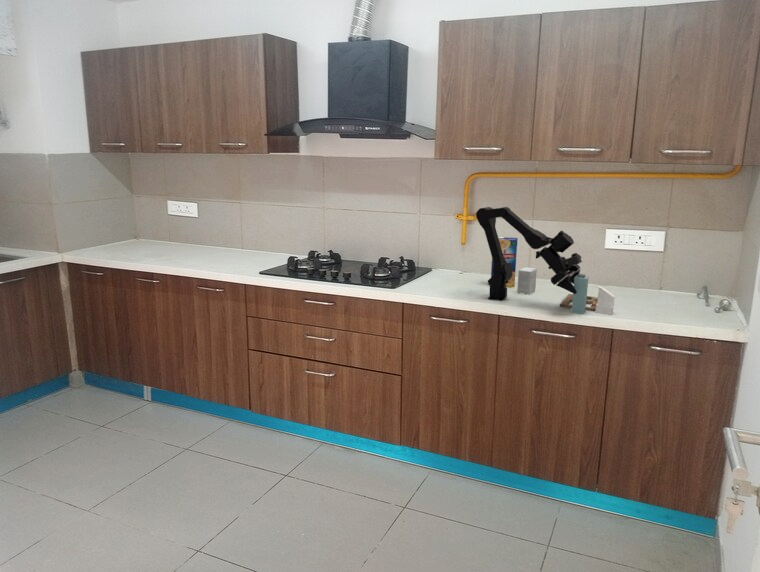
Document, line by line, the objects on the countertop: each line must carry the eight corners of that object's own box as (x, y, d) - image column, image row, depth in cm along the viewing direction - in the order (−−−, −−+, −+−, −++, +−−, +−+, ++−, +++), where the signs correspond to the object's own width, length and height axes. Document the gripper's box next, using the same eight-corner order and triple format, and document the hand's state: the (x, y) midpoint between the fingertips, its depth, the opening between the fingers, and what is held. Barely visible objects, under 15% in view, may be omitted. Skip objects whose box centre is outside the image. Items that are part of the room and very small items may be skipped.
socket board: (559, 307, 232) (559, 302, 232) (568, 296, 249) (568, 292, 248) (596, 311, 226) (596, 307, 226) (602, 300, 242) (603, 296, 242)
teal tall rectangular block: (571, 312, 224) (574, 275, 221) (573, 310, 228) (576, 272, 225) (583, 314, 222) (586, 276, 219) (585, 311, 226) (588, 274, 223)
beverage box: (491, 282, 273) (493, 236, 268) (514, 284, 271) (517, 237, 266) (490, 286, 267) (492, 239, 262) (514, 287, 264) (517, 240, 259)
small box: (523, 289, 261) (524, 266, 258) (535, 291, 258) (537, 268, 255) (516, 293, 254) (518, 269, 252) (529, 295, 251) (530, 271, 249)
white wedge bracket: (586, 302, 229) (600, 285, 225) (608, 318, 226) (622, 301, 222) (584, 304, 226) (597, 287, 222) (606, 320, 223) (620, 303, 219)
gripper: (561, 250, 215) (588, 283, 211) (577, 243, 230) (603, 274, 226) (539, 268, 222) (566, 300, 218) (556, 261, 236) (581, 291, 232)
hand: (579, 291), depth 223 cm, fingers open, 9 cm apart
